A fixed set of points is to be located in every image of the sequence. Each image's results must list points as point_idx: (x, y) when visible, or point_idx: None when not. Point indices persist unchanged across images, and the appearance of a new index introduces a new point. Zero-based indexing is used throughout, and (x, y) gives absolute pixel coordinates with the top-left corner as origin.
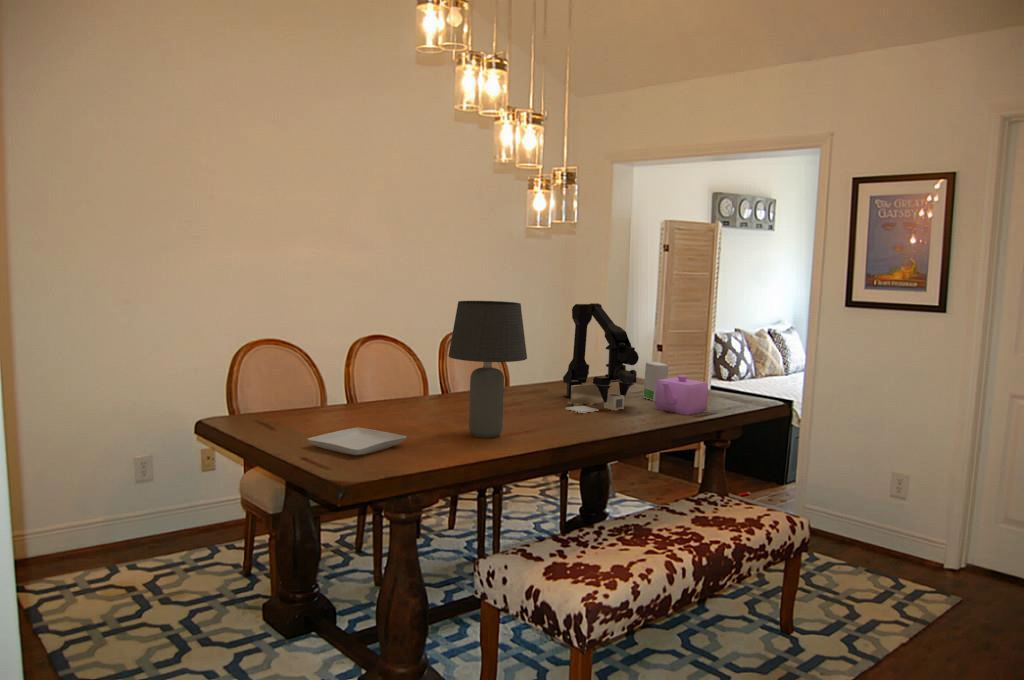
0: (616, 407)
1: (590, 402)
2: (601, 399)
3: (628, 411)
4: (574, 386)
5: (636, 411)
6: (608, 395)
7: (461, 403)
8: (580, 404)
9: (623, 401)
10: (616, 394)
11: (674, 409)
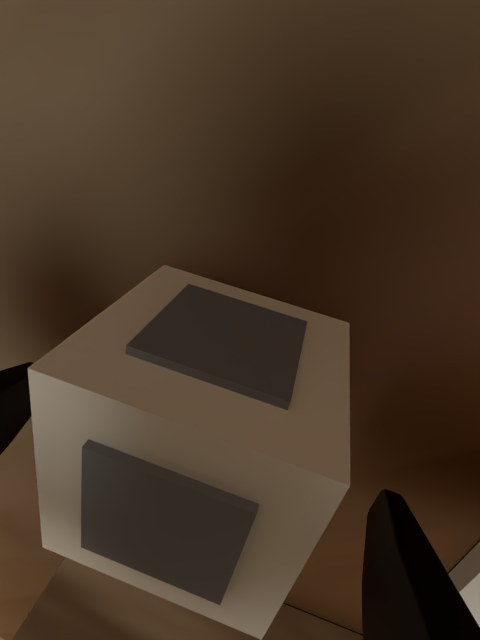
0: (301, 322)
1: None
2: None
3: (237, 127)
4: None
5: (129, 23)
6: (282, 590)
7: None
8: (326, 628)
9: (118, 315)
10: (101, 512)
11: None
